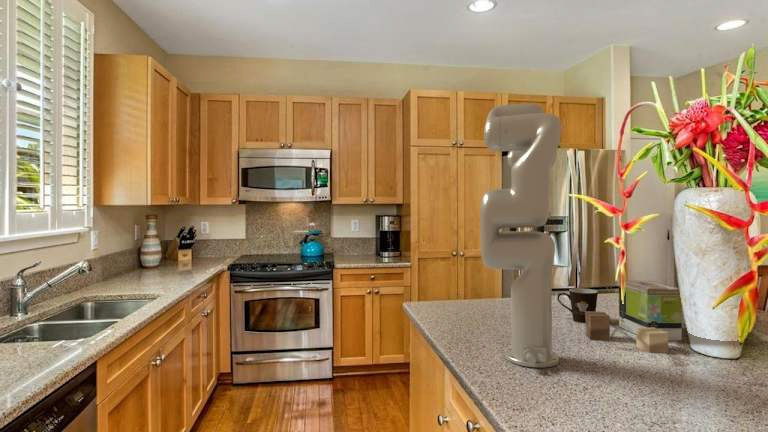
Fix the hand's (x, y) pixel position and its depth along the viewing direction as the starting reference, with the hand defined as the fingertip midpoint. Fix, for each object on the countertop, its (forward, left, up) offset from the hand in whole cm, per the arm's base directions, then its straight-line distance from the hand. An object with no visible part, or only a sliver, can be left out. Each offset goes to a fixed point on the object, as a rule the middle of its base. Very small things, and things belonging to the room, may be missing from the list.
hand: (526, 237), depth 141 cm
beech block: (-27, -28, -28) cm, 48 cm away
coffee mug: (+1, -17, -28) cm, 32 cm away
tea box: (-12, -33, -28) cm, 45 cm away
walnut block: (-19, -17, -28) cm, 37 cm away
